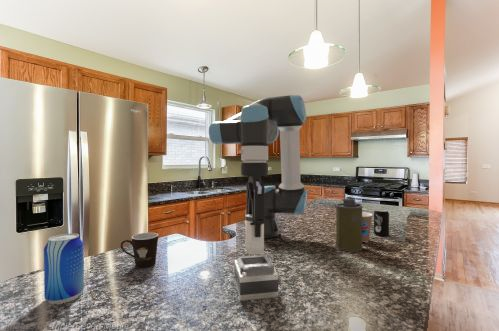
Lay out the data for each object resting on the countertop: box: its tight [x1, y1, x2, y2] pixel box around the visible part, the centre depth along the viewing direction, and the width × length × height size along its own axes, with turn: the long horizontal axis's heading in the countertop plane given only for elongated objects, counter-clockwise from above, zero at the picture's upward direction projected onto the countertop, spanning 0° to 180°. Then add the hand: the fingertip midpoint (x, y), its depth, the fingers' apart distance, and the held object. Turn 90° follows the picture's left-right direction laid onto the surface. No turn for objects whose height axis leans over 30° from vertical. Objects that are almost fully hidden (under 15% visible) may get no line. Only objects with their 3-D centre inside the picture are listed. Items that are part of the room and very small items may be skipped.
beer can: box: [43, 233, 85, 305], centre depth 70 cm, size 8×8×16 cm
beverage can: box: [373, 208, 390, 237], centre depth 128 cm, size 7×7×12 cm
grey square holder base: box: [233, 254, 279, 301], centre depth 75 cm, size 12×10×7 cm
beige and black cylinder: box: [244, 214, 265, 256], centre depth 75 cm, size 5×5×10 cm
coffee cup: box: [362, 211, 374, 243], centre depth 119 cm, size 10×10×12 cm
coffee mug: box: [120, 232, 159, 270], centre depth 92 cm, size 12×9×10 cm
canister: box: [335, 197, 364, 253], centre depth 109 cm, size 11×10×20 cm
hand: (254, 244), depth 75 cm, fingers closed on beige and black cylinder, 5 cm apart
